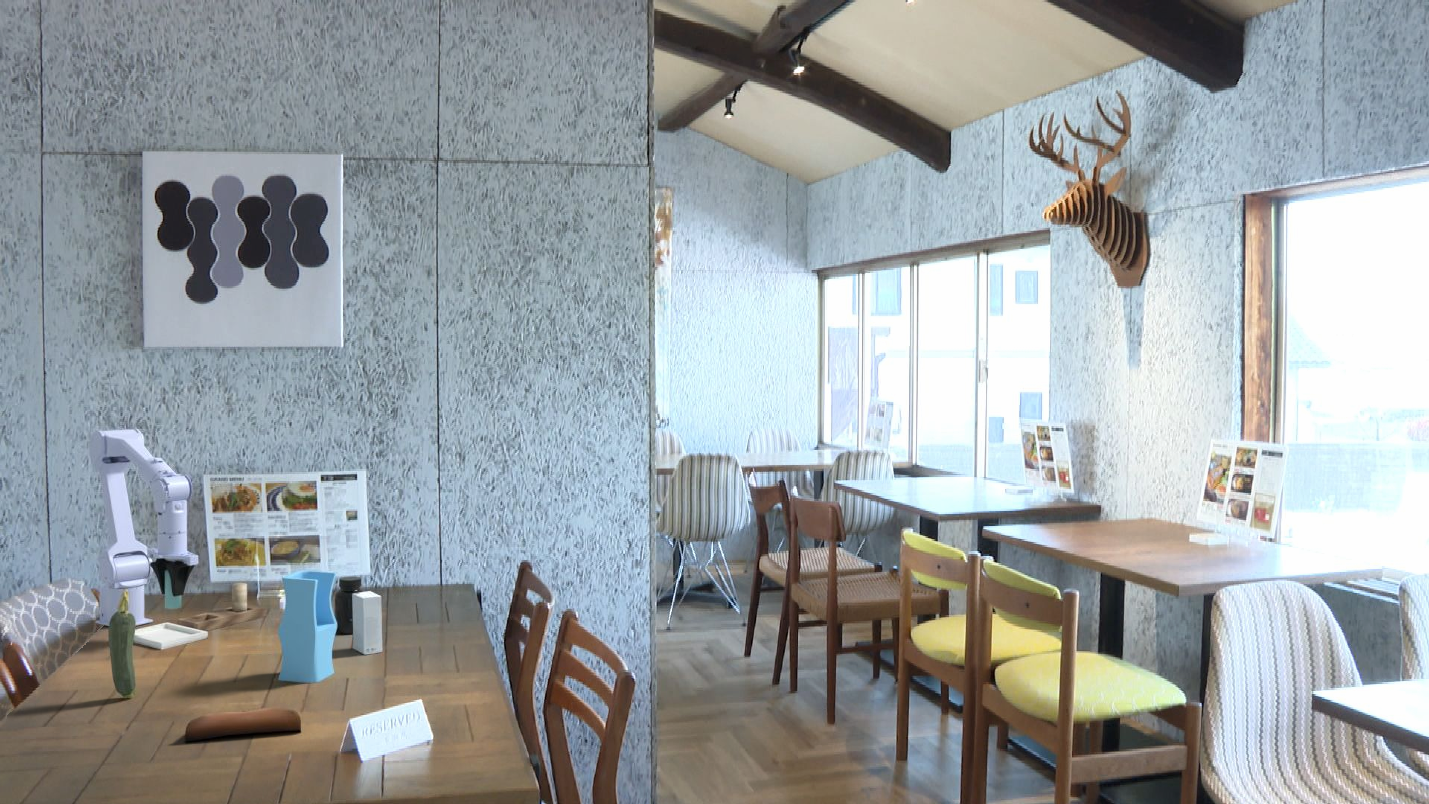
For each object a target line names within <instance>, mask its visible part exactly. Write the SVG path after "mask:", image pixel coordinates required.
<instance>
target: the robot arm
mask: <svg viewBox="0 0 1429 804" xmlns="http://www.w3.org/2000/svg"><path fill="white" fill-rule="evenodd" d="M88 441H89V442H88V452H89V458H90V463H91V467H92V469H94V470H95V471H97V472H98V477H99V482H100V483H99V484H100V487H101V488H100V489H101V495H102V501H103V507H104V513H105V519H106V525H107V530H108V531H107V532H108V537H109V545H107V546H106V547H105V548H104V549H103V550H102V551H101V552H100V553H99V556H98V561H99V563H98V564H99V565H98V575H99V579H100V581H101V582H102V584H104V586H103V587H102V589H101V590H100V592H99V596H98V597H99V599H98V600H99V620H96V621H95V624H99V625H103V626H107V627H109V623H110V619H111V617H112V616H113V615H114V614H115V613H116V612H118V609H117V607H118V604H119V601H120V599H121V595H122V593H123V592H124V589H126V590H128V594H129V608H128V610H127V611H129V612H130V613H131V614H132V615H133V616H134V618H135V621H136V626H142V625H145V624H149V623H153V622H154V620H153V619H150V618H146V617H145V584H148V580H150V578H151V577H152V575H153V572H154V574H155V575H156V579H157V582H158V586H159V588H160V592H161V595H165V571H166V570H168V572H169V575H170V579H171V588H172V594H173V596H175V597H176V596H180V595H181V596H184V594H185V590H186V586H187V582H188V579H189V577H190V575H191V572H192V570H193V569H194V568H195V567H196V565H199V555H198V554H195V553H193V552H190V551H188V502H189V501H190V500H191V499H192V495H193V492H194V491H193V489H194V488H193V484H192V481H191V479H190V477H189V476H188V474H180V473H178V474H177V473H176V472H175V471H174V470H173V469H172V468H171V467H170V466H169V465H168V464H167V463H166V462H165V461H164V460H163V458H162V457H154V456H153V455H152V454H151V453H150V451H149V450H148V449H147V447H146V446H145V437H144V434H143V433H142V432H141V431H140V429H138V428H131V429H129V428H128V429H116V430H115V429H114V430H99V429H98V430H94V431H93V432H92V434H91V435H90V438H89V440H88ZM133 466H136V467H137V468H138V475H139V477H140V479H142V481H144V483H145V484H146V485H147V486H148V487H149V488H150V489H151V496H152V499H153V501H154V510H155V512H157V547H153V548H148V546H147V545H145V544H144V543H141V542H140V541H139V540H137V539H136V536H135V531H134V526H133V525H134V524H133V517H132V513H131V508H130V507H131V506H130V502H129V494H128V491H127V490H128V489H127V483H126V477H125V471H126V470H127V469H128V468H130V467H133ZM153 559H156V560H155V561H153Z"/></svg>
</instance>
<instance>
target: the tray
mask: <svg viewBox="0 0 1429 804" xmlns="http://www.w3.org/2000/svg"><path fill="white" fill-rule="evenodd" d="M208 638H209V632H208V630H207V631H202V630H198V629H194V628H189V627H185V626H181V625H178V624H176V623H172V622H168V621H167V622H163V623H158V624H154V625H149V626H145V627H140V628H137V629H136V628H135V635H134V640H133V644H138V645H142V646H146V647H150V648H154V649H157V650H160V651H161V650H166V649H171V648H173V647H174V648H175V647H178V646H182V645H186V644H190V643H194V642H197V641H203V640H206V639H208Z"/></svg>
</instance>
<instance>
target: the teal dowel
mask: <svg viewBox="0 0 1429 804" xmlns="http://www.w3.org/2000/svg"><path fill="white" fill-rule="evenodd" d="M164 608H165V609H167V610H176V609H180V608H182V595H180V596H176V597H175V596H173V594H172V588H171V579H170V575H169V572H168V570H166V571H165V594H164Z"/></svg>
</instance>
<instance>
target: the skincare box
mask: <svg viewBox="0 0 1429 804" xmlns="http://www.w3.org/2000/svg"><path fill="white" fill-rule="evenodd" d="M352 605H353V634H352V636H353V638H352V639H353V650H355V651H358V652H359V653H361V654H363V655H372V654H378V653H382V652H383V627H382V626H383V625H382V623H383V621H382V619H383V616H382V596H381V595H379V594H377V593H375V592H373V591H371V590H369V591H364V592H360V593H354V594H352Z"/></svg>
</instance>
